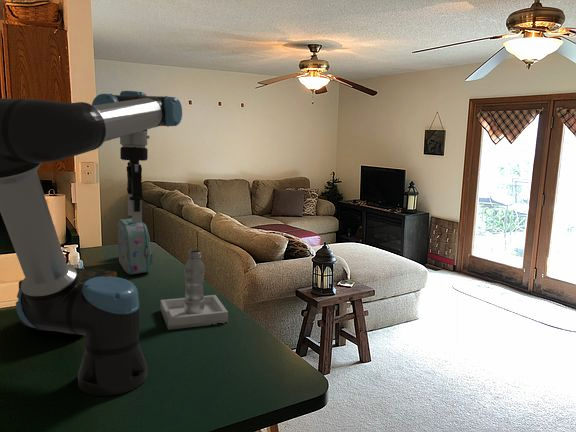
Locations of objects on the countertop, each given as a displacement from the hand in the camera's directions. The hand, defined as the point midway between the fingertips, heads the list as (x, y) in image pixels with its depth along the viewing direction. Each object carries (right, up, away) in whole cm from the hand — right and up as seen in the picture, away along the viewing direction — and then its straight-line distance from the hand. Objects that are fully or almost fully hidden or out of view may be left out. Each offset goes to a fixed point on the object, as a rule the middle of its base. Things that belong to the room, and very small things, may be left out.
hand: (134, 218), depth 139 cm
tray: (+16, -31, +9) cm, 36 cm away
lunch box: (-19, -21, +57) cm, 63 cm away
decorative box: (-18, -31, -1) cm, 36 cm away
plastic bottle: (+16, -30, +9) cm, 35 cm away
